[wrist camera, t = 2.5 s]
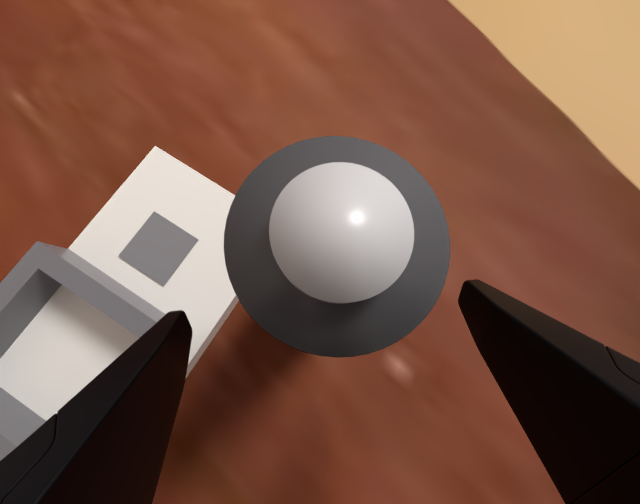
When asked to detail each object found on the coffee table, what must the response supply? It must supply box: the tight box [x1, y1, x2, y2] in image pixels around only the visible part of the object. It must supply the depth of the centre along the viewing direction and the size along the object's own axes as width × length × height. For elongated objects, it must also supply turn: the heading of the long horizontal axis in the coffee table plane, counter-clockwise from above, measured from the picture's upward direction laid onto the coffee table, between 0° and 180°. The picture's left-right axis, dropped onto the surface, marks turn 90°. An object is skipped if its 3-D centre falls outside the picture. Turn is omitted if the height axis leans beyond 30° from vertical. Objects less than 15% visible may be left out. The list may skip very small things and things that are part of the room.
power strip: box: [0, 146, 239, 461], centre depth 15 cm, size 20×10×4 cm, turn 148°
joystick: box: [224, 136, 450, 357], centre depth 11 cm, size 4×4×14 cm
